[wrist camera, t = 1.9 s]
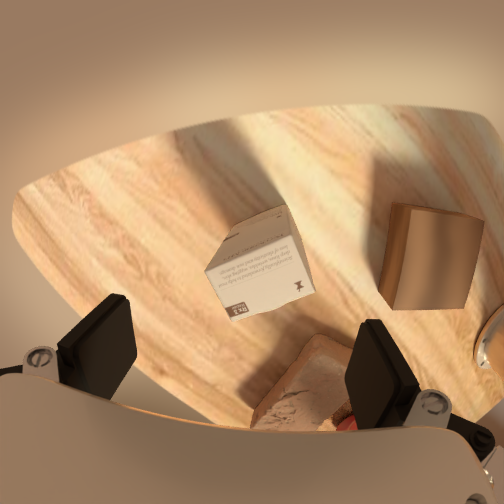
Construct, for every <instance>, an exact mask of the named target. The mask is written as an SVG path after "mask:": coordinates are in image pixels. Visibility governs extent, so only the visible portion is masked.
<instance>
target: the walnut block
mask: <svg viewBox="0 0 504 504" xmlns="http://www.w3.org/2000/svg"><path fill="white" fill-rule="evenodd" d="M483 227H484V221H483V220H480V219H477V218H474V217H471V216H468V215H465V214H462V213H457V212H451V211H446V210H440V209H433V208H427V207H421V206H414V205H407V204H399V203H392V207H391V216H390V224H389V231H388V238H387V245H386V251H385V257H384V263H383V268H382V273H381V279H380V284H379V288H378V292H379V293H380V294H381V296H382V297H383V298H384V300H385V301H386V302H387V304H388V305H389V306H390V308H391V309H392V310H440V309H464V306H465V303H466V300H467V297H468V293H469V290H470V286H471V283H472V279H473V275H474V271H475V267H476V263H477V259H478V254H479V249H480V244H481V239H482V233H483Z"/></svg>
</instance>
